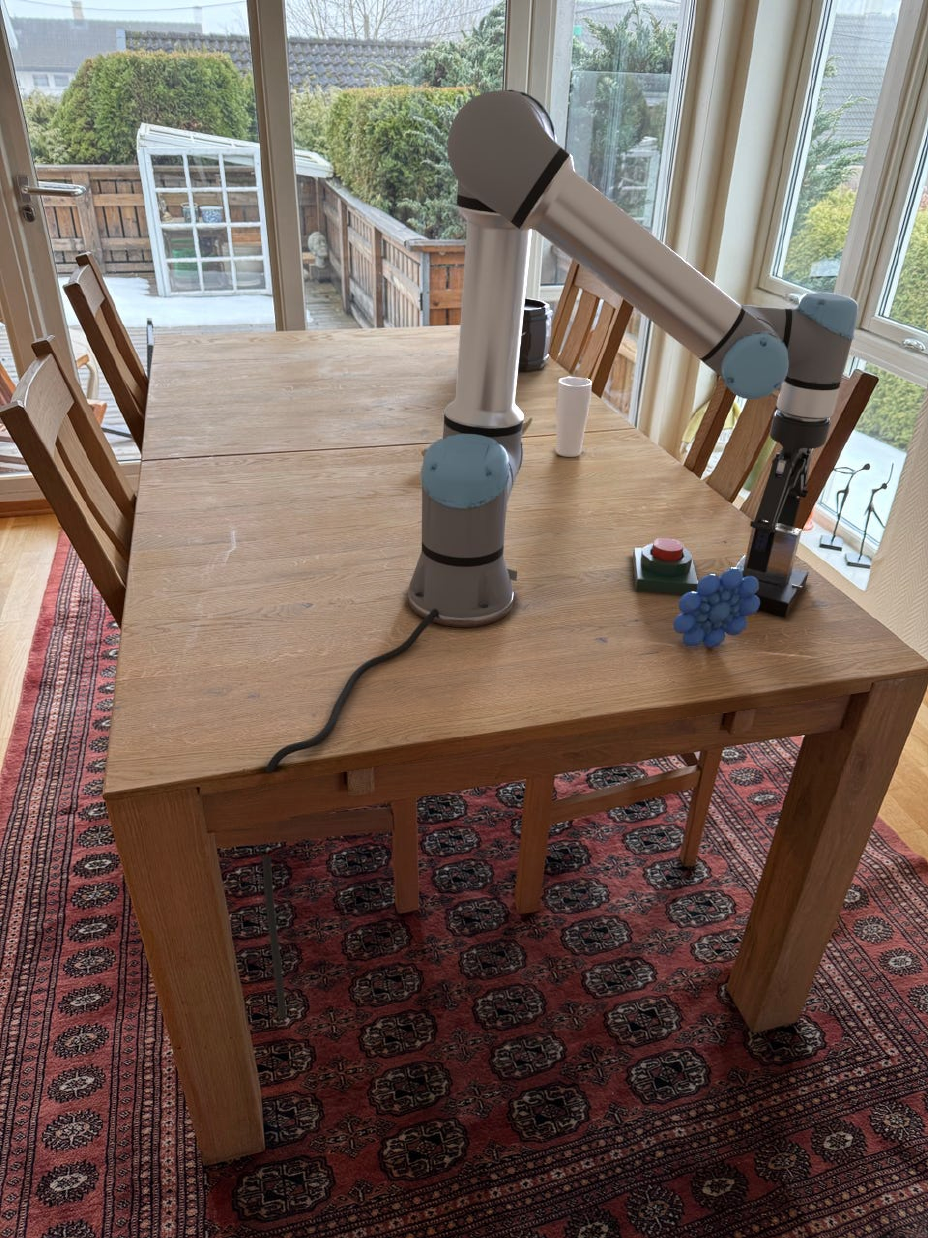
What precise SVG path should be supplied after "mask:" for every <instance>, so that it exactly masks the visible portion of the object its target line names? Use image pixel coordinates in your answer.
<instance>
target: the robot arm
mask: <svg viewBox="0 0 928 1238" xmlns="http://www.w3.org/2000/svg"><path fill="white" fill-rule="evenodd" d="M549 114H550V113H549V112H548V111H547V109H546V108H545V106H544V105H543V104H542V103H541V102H540V101H539V100H538V99H537V98H535V97H534V96H532V95H530V94H528V93H527V92H525V91H518V90H515V89H512V88H511V89H497V90H490V91H485V92H482V93H479V94H478V95H476V96H473V97H472V98H471V99H470V100H468V101H467V102H466V103H465V104H464V105H463V106H462V107H461V108H460V109H459V110H458V112H457V113H456V115H455V117H454V118H453V120H452V123H451V126H450V128H449V132H448V137H447V155H448V156H447V157H448V162H449V165H450V168H451V171H452V173H453V175H454V177H455V179H456V180H457V191H456V209H457V210H458V211H459V212H460V214H461V215H462V216H463V217H464V219H465V221H466V233H465V248H464V249H465V250H464V261H463V263H464V264H463V279H462V294H461V311H460V312H461V313H460V325H459V326H460V327H459V342H458V357H457V371H456V385H455V387H456V388H455V398H454V399H453V400H452V401H451V402H449V403H448V404H447V405H446V406H445V408H444V411H443V425H442V426H443V428H442V438H439V439H438V440H436V441H434V442H432V444H430V446H429V447H427V448H428V449H427V448H426V449H427V451H426V453H425V455H424V456H423V460H422V466H421V469H420V478H421V479H420V481H421V550H420V551H421V552H420V555H419V558H418V560H417V563H416V566H415V569H414V571H413V574H412V577H411V579H410V582H409V586H408V601H407V602H408V605H409V607H410V609H411V610H412V611H413V612H414V613H415V614H416V615H417V616H419V617H421V618H422V619H423V620H422V621H421V622H420V623H419V624H418V626H417V627H416V628H415V629H414V630H413V631H412V633H411V634H410V635H409V637H408V638H407V639H406V640H405V641H404V642H403V643H402V644H401V645H399V646H397V647H396V648H394V649H392V650H390V651H388V652H385V653H383V654H381V655H378V656H375V657H373V658H371V659H369V660H367V661H366V662H363V664H361V665H360V666H359V667H358V668H357V669H356V670H355V671H354V672H353V673H352V674H351V675H350V676H349V678H348V680H347V681H346V683H345V685H344V687H343V688H342V691H341V693H340V695H339V696H338V698H337V700H336V701H335V703H334V705H333V707H332V711H331V713H330V716H329V718H328V721H327V722H326V724H325V725H324V727H323V728H322V730H321V731H320V732H319V733H317V734H315V736H313V737H312V738H308V739H306V740H302V741H298V742H294V743H291V744H289V745H286V746H284V747H282V748H280V749H279V750H278V751H277V752H276V753H275V754H274V755H273V756H272V757H271V759H270V760H269V762H268V764H267V765H266V768H265V773H273V772H274V771H275V770H276V768H277V767H278V765H279V764H280V763H281V761H282V760H283V759H284V758H286V757H287V756H288V755H291V754H293V753H296V752H299V751H303V750H307V749H310V748H313V747H315V746H317V745H319V744H321V743H322V742H324V741H325V740H326V739H327V738H328V737H329V736H330V735H331V733H332V732H333V730H334V729H335V727H336V724H337V722H338V719H339V716H340V714H341V711H342V709H343V707H344V705H345V703H346V702H347V700H348V698H349V696H350V695H351V692H352V689H353V688H354V687H355V685H356V683H357V682H358V680H359V679H360V678H361V677H362V676H363V674H365V673H366V672H367V671H368V670H370V669H372V668H374V667H375V666H378V665H379V664H381V663H384V662H387V661H390V660H392V659H394V658H396V657H398V656H400V655H401V654H403V653H404V652H406V651H407V650H408V649H409V648H411V647H412V646H413V645H414V643H415V642H416V641H417V640H418V638H419V637H420V635H422V634H423V632H424V631H425V630H426V628H428V626H429V625H430V624H431V623H434V624H438V625H442V626H446V627H453V628H454V627H455V628H473V627H481V626H486V625H489V624H493V623H495V622H497V621H500V620H501V619H503V618H504V617H506V616H507V615H508V614H509V613H510V612H511V610H512V609H513V604H514V589H513V584H512V581H513V582H518V581H517V580H518V571H516V570H513V569H510V568H508V567H507V564H506V559H505V557H504V550H505V549H504V548H505V534H506V533H505V532H506V519H507V507H508V502H509V499H510V496H511V493H512V491H513V487H514V484H515V481H516V478H517V476H518V474H519V471H520V470H521V467H522V465H523V460H524V459H523V458H524V448H523V442H522V437H523V435H522V428H523V423H524V413H523V412H522V410H521V409H520V408H519V406H517V405H516V393H517V392H516V391H517V384H518V383H517V381H518V372H519V371H518V363H519V353H520V343H521V333H522V322H523V312H524V302H525V298H526V293H527V292H526V291H527V283H528V282H527V281H528V271H529V261H530V253H531V252H530V251H531V241H532V231H536V232H537V233H538V234H540V235H541V236H542V237H543V238H545V239H546V240H547V241H549V242H550V243H551V244H552V245H554V247H556V248H558V249H559V250H560V251H561V252H563V253H564V254H565V255H566V256H568V257H569V258H570V259H572V260H573V261H574V262H575V263H577V264H578V265H579V266H580V267H582V269H585V270H586V271H587V272H588V273H589V274H590V275H592V276H593V277H595V278H596V279H597V280H598V281H599V282H601V284H604V285H605V286H606V287H607V288H608V289H610V290H611V291H613V292H614V293H615V294H616V295H618V296H619V297H620V298H621V299H623V300H624V301H625V302H626V303H628V304H629V305H630V306H632V307H633V308H634V309H636V310H637V311H638V312H639V313H641V314H642V315H643V316H644V317H646V319H648V320H649V321H650V322H652V323H653V324H654V325H656V326H657V327H659V329H661V330H662V331H663V332H665V333H666V334H667V335H669V336H670V337H671V338H672V339H674V340H675V341H676V342H677V343H679V344H680V345H682V346H683V347H684V348H686V349H687V350H688V351H689V352H690V353H692V354H693V355H694V356H696V357H697V358H698V359H699V360H700V361H701V362H702V363H703V364H705V365H706V367H708V368H710V369H711V370H712V371H713V372H714V373H716V374H717V375H718V376H720V377H721V380H722V382H723V383H724V385H725V386H726V388H728V389H729V391H730V392H732V394H734V395H735V396H737V397H739V398H742V399H745V400H760V399H764V398H766V397H768V396H770V395H772V394H773V393H775V392H776V391H777V392H778V391H779V394H778V395H777V401H776V408H777V409H776V410H775V411H774V413H773V417H772V421H771V425H770V429H769V437H770V438H771V439H772V441H774V442H775V443H779V444H780V445H781V449H780V451H779V452H777V453H776V454H775V457H774V458H773V459H772V461H771V468H770V471H769V474H768V477H767V481H766V484H765V487H764V490H763V493H762V496H761V498H760V503H759V506H758V509H757V511H756V514H755V518H754V521H753V520H751V521H750V523H749V527H751V528H752V527H753V528H755V533H754V537H753V541H752V546H751V550H750V554H749V559H748V563H747V567H746V568H749V569H753V570H756V571H760V572H763V573H765V572H766V571H767V567H768V563H769V559H770V555H771V551H772V547H773V543H774V539H775V534H776V524H777V523H779V524H783V525H787V526H791V527H795V523H796V521H797V516H798V512H799V508H800V505H801V501H802V499H801V498H803V499H806V498H807V497H808V494H809V490H806V488H807V487H808V479H809V474H810V473H809V472H810V465H811V458H812V451H813V449H818V448H821V447H823V446H824V445H825V444H826V442H827V438H828V434H829V432H830V431H829V430H830V426H831V423H832V420H831V419H830V417H833V415H834V414H835V409H836V406H837V402H838V397H839V395H840V390H841V383H842V378H843V375H844V371H845V367H846V363H847V360H848V356H849V353H850V351H851V350H850V349H851V346H852V343H853V340H854V338H855V331H856V327H857V326H856V325H857V320H858V314H859V305H858V303H857V301H856V300H855V299H854V298H852V297H850V296H847V295H843V294H838V293H834V292H833V293H832V292H822V291H820V292H812V291H811V292H805V293H804V294H803V295H801V297H800V298H799V301H798V303H797V304H796V307H790V308H785V307H784V308H782V307H772V306H771V307H770V306H759V305H750V304H739V303H737V302H736V300H734V299H733V298H732V297H730V296H729V295H728V294H727V293H725V291H723V290H721V288H720V287H718V286H717V285H715V283H713V282H712V281H711V280H710V279H708V277H706V276H704V275H703V274H702V273H701V272H699V270H697V269H696V268H694V266H692V265H691V264H690V263H689V262H687V261H686V260H685V259H684V258H683V257H681V256H680V255H679V254H678V253H676V252H675V251H674V250H673V249H671V248H670V247H669V246H668V245H666V244H665V243H664V242H663V241H661V240H660V239H659V238H658V237H657V236H656V235H654V234H653V233H652V232H651V231H649V230H648V229H647V228H646V227H644V225H642V224H640V223H639V222H638V221H637V220H635V218H633V217H632V216H631V215H630V214H628V213H627V212H626V211H624V210H623V209H622V208H621V207H620V206H618V205H617V204H616V203H614V201H612V200H611V199H610V198H609V197H608V196H607V195H605V194H604V193H602V192H601V191H600V190H599V189H598V188H596V186H594V185H593V184H591V183H590V182H589V181H588V180H586V179H585V178H584V177H582V175H580V174H579V173H578V172H576V170H575V165H574V158H573V156H572V154H570V153H569V152H568V151H567V150H565V149H564V148H563V147H562V146H560V145H559V144H558V143H557V136H556V131H555V126H554V124H553V120H552V118H551V116H550V115H549ZM763 520H765V521H763ZM766 521H768V522H766ZM272 873H273V871H272V856H269V855H265V854H262V874H263V875H262V876H263V888H264V901H265V909H266V910H265V911H266V918H267V927H268V933H269V943H270V950H271V957H272V965H273V973H274V982H275V988H276V989H275V990H276V999H277V1009H278V1010H277V1011H278V1018H279V1019H281V1020H283V1019H285V1018H286V1017H287V1008H286V1007H287V1006H286V996H285V986H284V977H283V968H282V960H281V952H280V951H281V950H280V944H279V935H278V928H277V927H278V926H277V919H276V907H275V900H274V888H273V874H272Z"/></svg>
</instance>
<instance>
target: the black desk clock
mask: <svg viewBox="0 0 928 1238" xmlns="http://www.w3.org/2000/svg"><path fill="white" fill-rule="evenodd" d="M553 315H554V312H553V310H552V309H551V306H550V304H549V303H547V302H546V301H544V300H540V299H536V298H529V297H525V302H524V312H523V322H522V333H521V343H520V353H519V363H518V372H531V371H539V370H541V369H542V368H543V367H544V366H545V365H546V362H547V361H549V358H550V354H549V351H550V344H551V338H552V337H551V336H552V317H553Z"/></svg>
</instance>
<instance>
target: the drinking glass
mask: <svg viewBox="0 0 928 1238" xmlns="http://www.w3.org/2000/svg"><path fill="white" fill-rule="evenodd" d="M592 385H593V384H592V381H591V380H590V379H588V378H585V377H580V376H565V377H561V378H559V379H558V383H557V388H556V399H555V448H554V451H555V453H556V454H557V455H559V456H561V457H566V458H575V457H578V456H580V455H581V453H582V449H583V441H584V436H585V430H586V426H587V421H588V416H589V410H590V405H591V398H592V397H591V396H592V387H593V386H592Z"/></svg>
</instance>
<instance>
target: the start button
mask: <svg viewBox="0 0 928 1238" xmlns="http://www.w3.org/2000/svg"><path fill="white" fill-rule="evenodd" d="M652 544H653V547H652V556H653V557H655V558H657V559H660V560H663V561H678V560H681V558H682V553H683V548H685V546H684V544H683V543H682V542H681V541H679V540H677V539H674V538H668V537H662V538H657V539H655V540H654V541H653V542H652Z"/></svg>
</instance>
